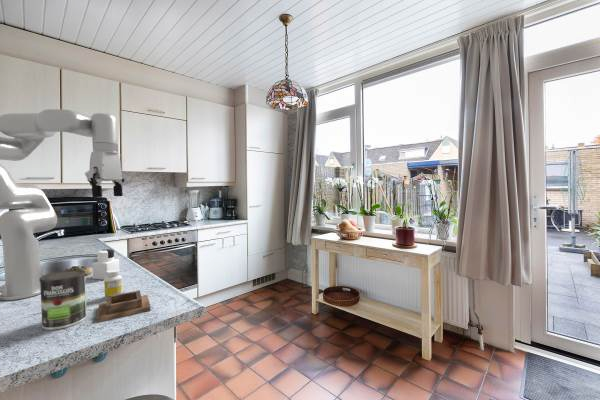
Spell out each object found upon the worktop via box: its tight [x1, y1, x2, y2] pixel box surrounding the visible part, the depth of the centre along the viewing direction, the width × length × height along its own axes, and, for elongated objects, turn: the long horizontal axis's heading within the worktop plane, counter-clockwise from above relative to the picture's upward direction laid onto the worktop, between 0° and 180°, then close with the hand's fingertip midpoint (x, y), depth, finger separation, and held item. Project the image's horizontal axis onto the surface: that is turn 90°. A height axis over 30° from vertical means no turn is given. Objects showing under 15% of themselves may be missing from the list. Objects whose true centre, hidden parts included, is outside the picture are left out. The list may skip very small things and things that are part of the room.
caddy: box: [96, 290, 152, 323], centre depth 91 cm, size 14×12×4 cm
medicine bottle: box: [91, 248, 121, 281], centre depth 123 cm, size 7×7×12 cm
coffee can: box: [39, 269, 88, 331], centre depth 82 cm, size 10×10×14 cm
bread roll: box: [64, 265, 93, 276], centre depth 127 cm, size 11×11×5 cm
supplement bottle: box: [103, 269, 124, 300], centre depth 100 cm, size 5×5×10 cm
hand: (108, 196), depth 101 cm, fingers open, 9 cm apart
